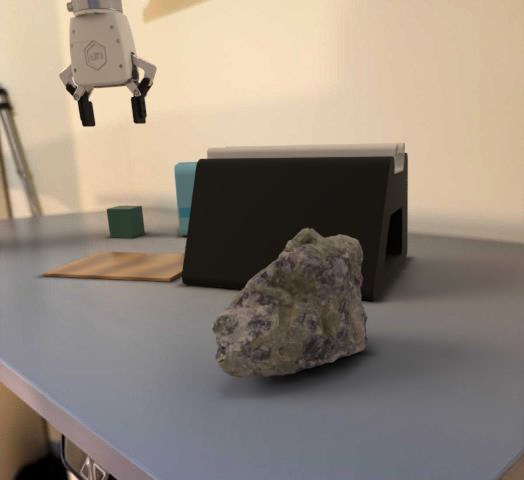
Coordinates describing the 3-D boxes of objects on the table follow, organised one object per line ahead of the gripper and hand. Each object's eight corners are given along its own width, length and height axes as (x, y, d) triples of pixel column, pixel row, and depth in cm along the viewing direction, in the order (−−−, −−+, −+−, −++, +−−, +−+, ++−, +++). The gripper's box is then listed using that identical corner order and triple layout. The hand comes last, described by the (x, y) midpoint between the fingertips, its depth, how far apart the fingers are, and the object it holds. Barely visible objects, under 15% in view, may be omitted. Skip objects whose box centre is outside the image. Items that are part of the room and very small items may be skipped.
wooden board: (43, 276, 70) (42, 273, 70) (100, 254, 83) (100, 251, 83) (169, 281, 66) (169, 278, 66) (210, 257, 78) (210, 254, 78)
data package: (205, 236, 94) (200, 164, 90) (179, 237, 94) (173, 165, 90) (207, 226, 105) (203, 161, 101) (184, 227, 105) (178, 162, 101)
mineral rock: (219, 400, 36) (209, 249, 32) (203, 343, 46) (194, 223, 42) (400, 379, 38) (410, 235, 34) (348, 329, 48) (352, 214, 44)
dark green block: (110, 237, 97) (106, 208, 95) (122, 233, 101) (119, 205, 99) (133, 237, 95) (129, 209, 94) (145, 233, 100) (142, 205, 98)
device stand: (257, 249, 83) (253, 144, 77) (406, 257, 74) (415, 141, 69) (182, 285, 64) (170, 150, 58) (372, 302, 55) (380, 146, 50)
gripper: (36, 8, 84) (56, 127, 90) (136, -4, 79) (150, 122, 86) (64, 17, 90) (82, 127, 97) (158, 6, 86) (170, 122, 92)
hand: (114, 125), depth 91 cm, fingers open, 9 cm apart
